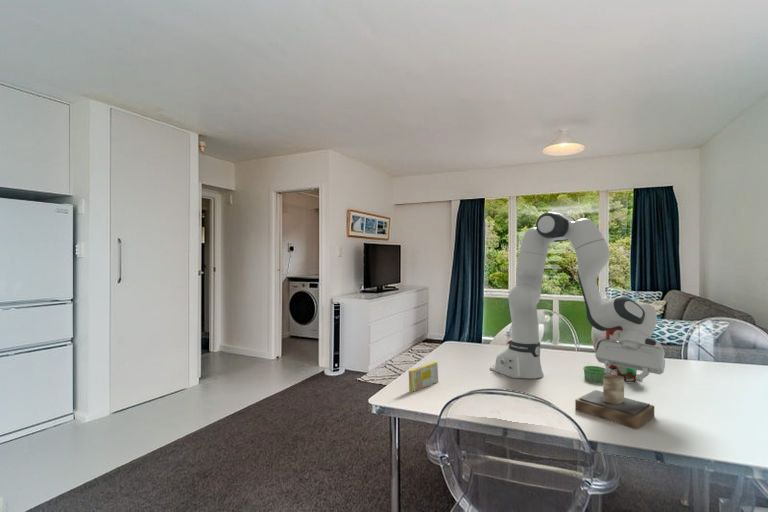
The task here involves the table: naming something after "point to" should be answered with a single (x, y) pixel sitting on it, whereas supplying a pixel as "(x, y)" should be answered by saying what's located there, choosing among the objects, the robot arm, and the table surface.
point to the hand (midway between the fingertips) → (622, 377)
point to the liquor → (614, 337)
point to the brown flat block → (615, 409)
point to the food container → (627, 373)
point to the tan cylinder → (613, 388)
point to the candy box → (423, 376)
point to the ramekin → (594, 373)
